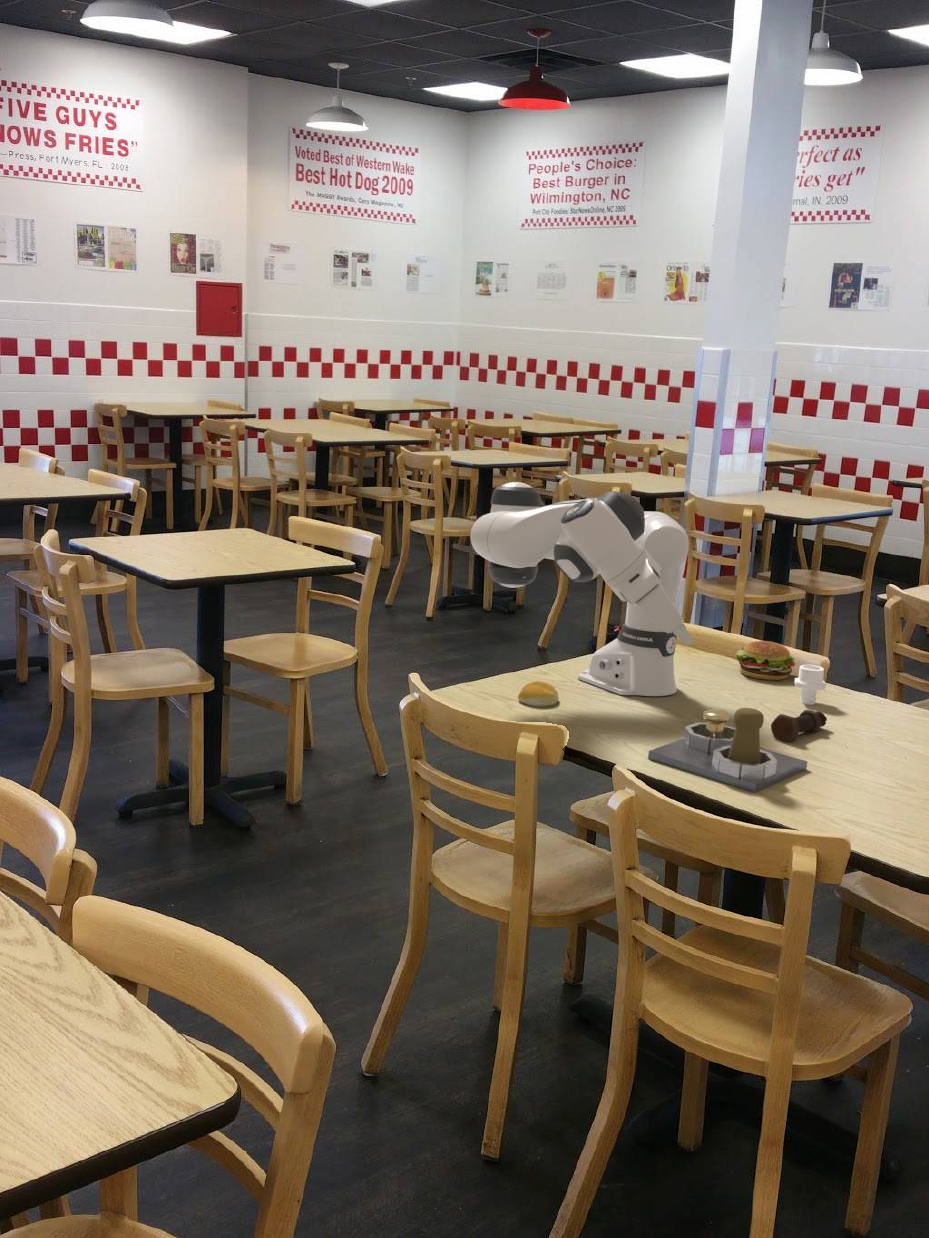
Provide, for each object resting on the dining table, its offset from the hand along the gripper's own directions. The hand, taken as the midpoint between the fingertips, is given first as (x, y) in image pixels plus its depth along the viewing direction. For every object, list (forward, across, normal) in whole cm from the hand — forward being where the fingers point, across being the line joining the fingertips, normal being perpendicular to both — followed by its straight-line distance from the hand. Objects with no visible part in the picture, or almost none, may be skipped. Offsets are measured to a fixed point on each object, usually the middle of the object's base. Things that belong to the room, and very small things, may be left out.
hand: (686, 636), depth 207 cm
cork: (+25, 0, -8) cm, 27 cm away
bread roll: (+1, -39, -34) cm, 52 cm away
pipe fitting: (+43, -52, +9) cm, 68 cm away
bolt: (+38, -28, +3) cm, 48 cm away
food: (+39, -75, +5) cm, 85 cm away
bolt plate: (+25, -7, -10) cm, 28 cm away
